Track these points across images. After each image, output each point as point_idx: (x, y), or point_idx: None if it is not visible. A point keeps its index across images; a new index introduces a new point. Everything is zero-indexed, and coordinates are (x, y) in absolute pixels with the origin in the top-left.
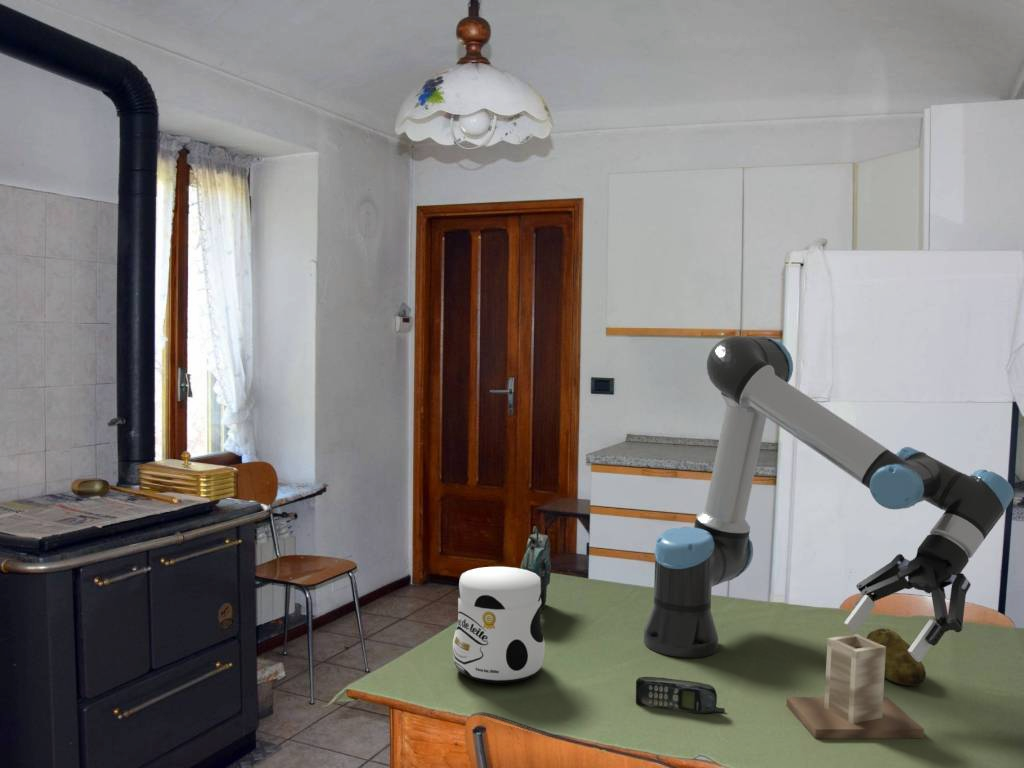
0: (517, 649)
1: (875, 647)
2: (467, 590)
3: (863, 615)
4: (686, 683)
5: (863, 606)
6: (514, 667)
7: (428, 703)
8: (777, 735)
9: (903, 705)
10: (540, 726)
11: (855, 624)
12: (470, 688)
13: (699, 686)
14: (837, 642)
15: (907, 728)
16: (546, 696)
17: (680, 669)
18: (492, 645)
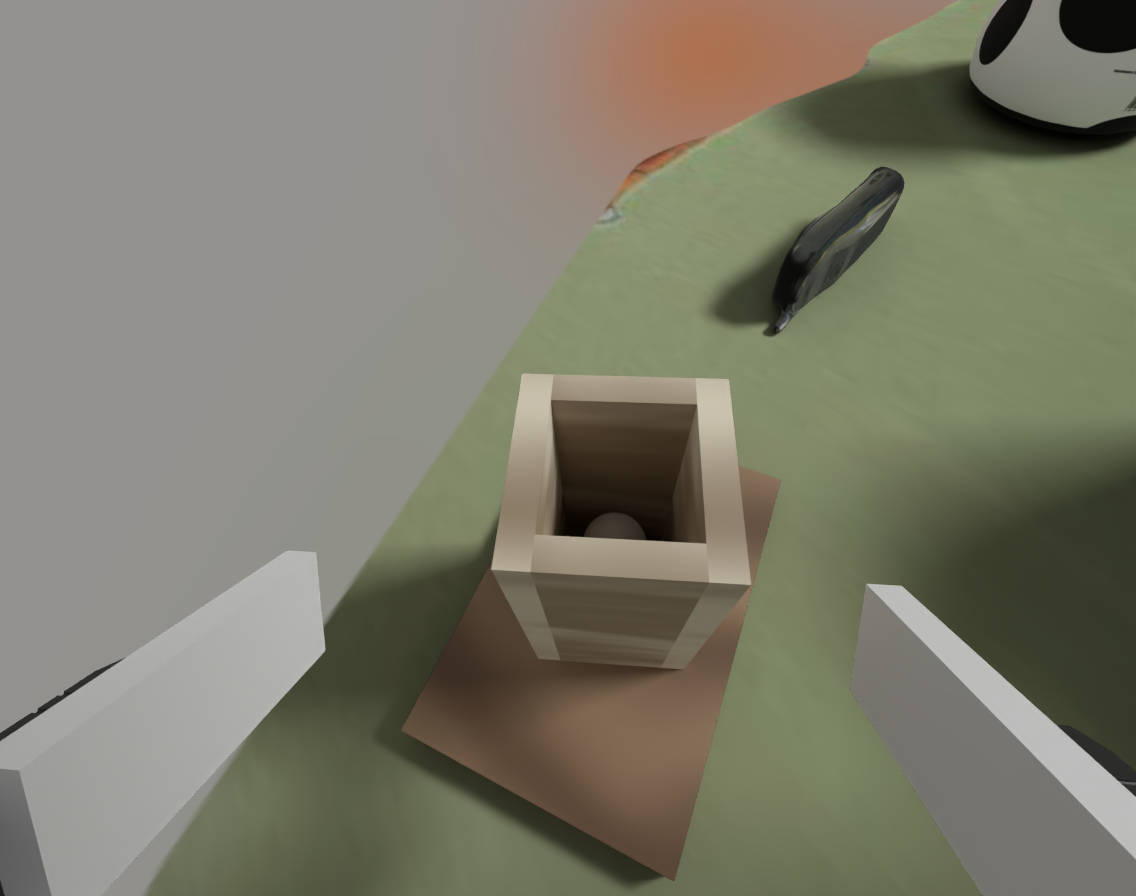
0: (1013, 9)
1: (515, 501)
2: None
3: (948, 784)
4: (828, 214)
5: (1008, 772)
6: (982, 50)
7: (910, 30)
8: (625, 364)
9: None
10: (796, 97)
11: (884, 682)
12: (968, 67)
13: (805, 230)
14: (659, 381)
15: (437, 670)
16: (920, 127)
17: (1094, 384)
18: None
